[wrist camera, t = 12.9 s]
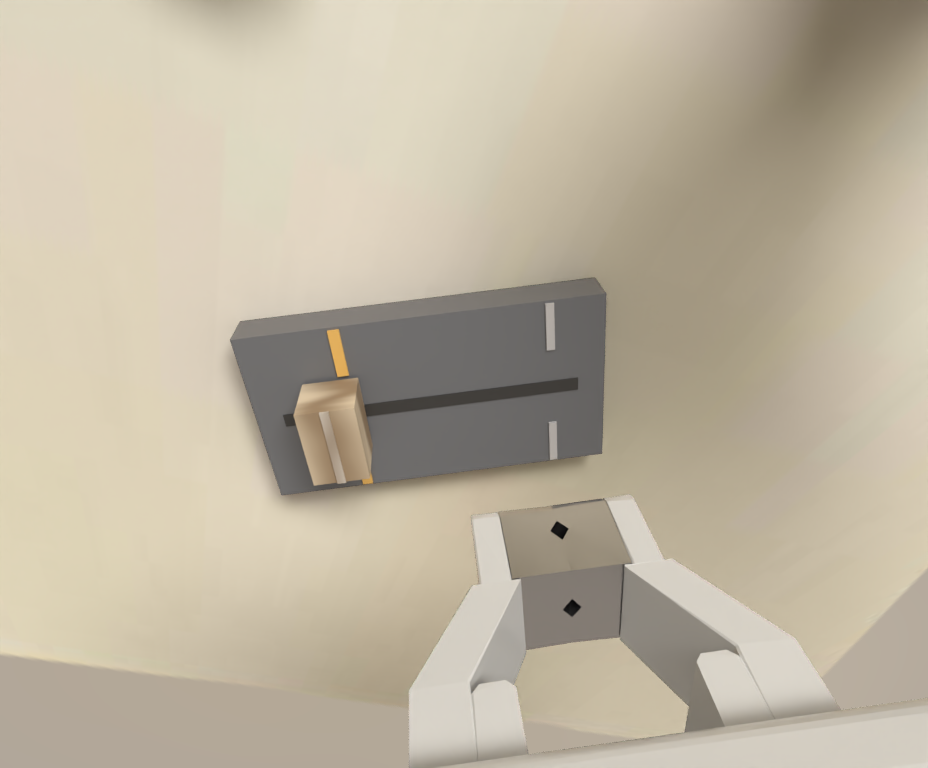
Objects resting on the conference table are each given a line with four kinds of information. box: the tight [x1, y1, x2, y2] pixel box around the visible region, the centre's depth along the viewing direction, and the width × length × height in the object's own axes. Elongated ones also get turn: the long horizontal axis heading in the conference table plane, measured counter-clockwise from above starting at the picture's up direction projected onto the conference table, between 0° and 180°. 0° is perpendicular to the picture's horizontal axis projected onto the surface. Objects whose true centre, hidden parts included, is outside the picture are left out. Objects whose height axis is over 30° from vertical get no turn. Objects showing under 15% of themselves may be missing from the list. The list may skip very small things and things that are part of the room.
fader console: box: [230, 278, 606, 495], centre depth 46 cm, size 26×14×3 cm, turn 96°
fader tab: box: [294, 378, 373, 486], centre depth 43 cm, size 4×6×4 cm, turn 6°
